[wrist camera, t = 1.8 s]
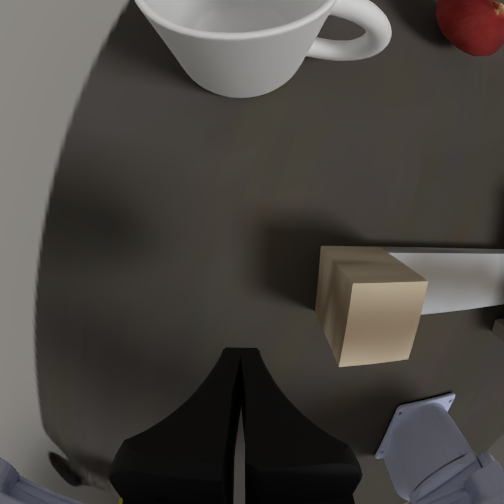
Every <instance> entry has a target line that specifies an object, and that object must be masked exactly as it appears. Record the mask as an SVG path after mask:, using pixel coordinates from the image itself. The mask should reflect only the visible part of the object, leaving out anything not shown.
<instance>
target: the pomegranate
mask: <svg viewBox="0 0 504 504" xmlns="http://www.w3.org/2000/svg"><path fill="white" fill-rule="evenodd" d="M436 18H437V22H438V25H439V27H440V29H441V31H442V33H443V34H444V36H445V37H446V38H447V39H448V40H449V41H450V42H451V43H452V44H454V45H455V46H456V47H457V48H458V49H460V50H462V51H464V52H465V53H468V54H470V55H473V56H489V55H492V54H494V53H496V52H497V51H498V50H499V49H500V48H501V46H502V45H503V44H504V5H503V4H502V3H500V2H497V1H494V0H438V2H437V8H436Z"/></svg>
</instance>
